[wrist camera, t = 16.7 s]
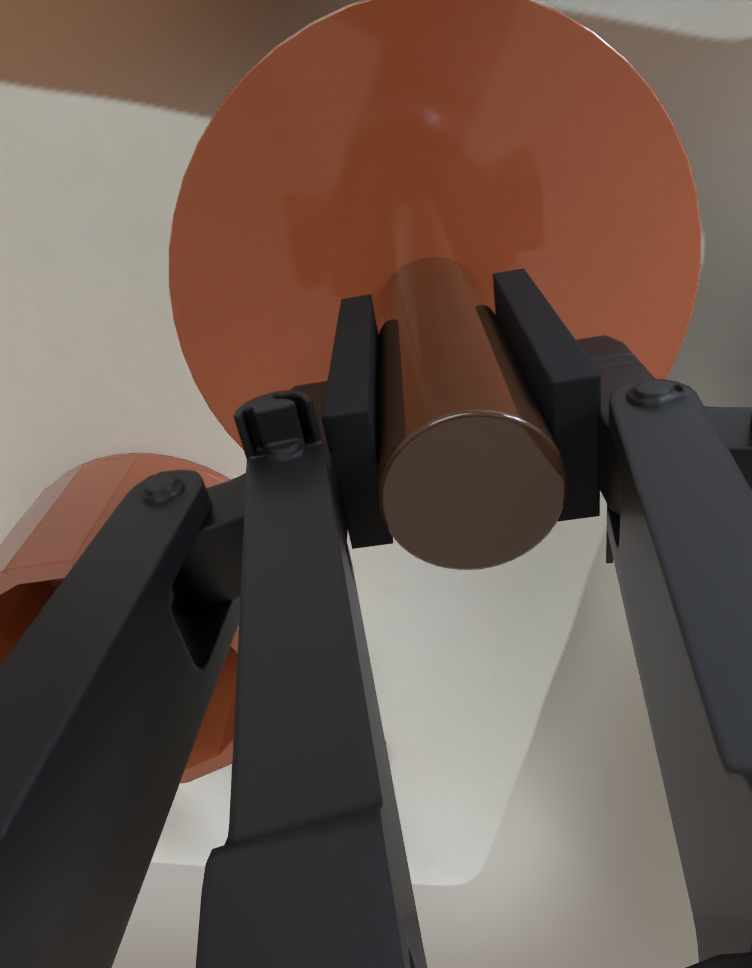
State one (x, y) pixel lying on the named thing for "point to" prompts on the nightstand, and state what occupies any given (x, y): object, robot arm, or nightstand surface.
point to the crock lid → (435, 242)
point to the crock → (59, 544)
